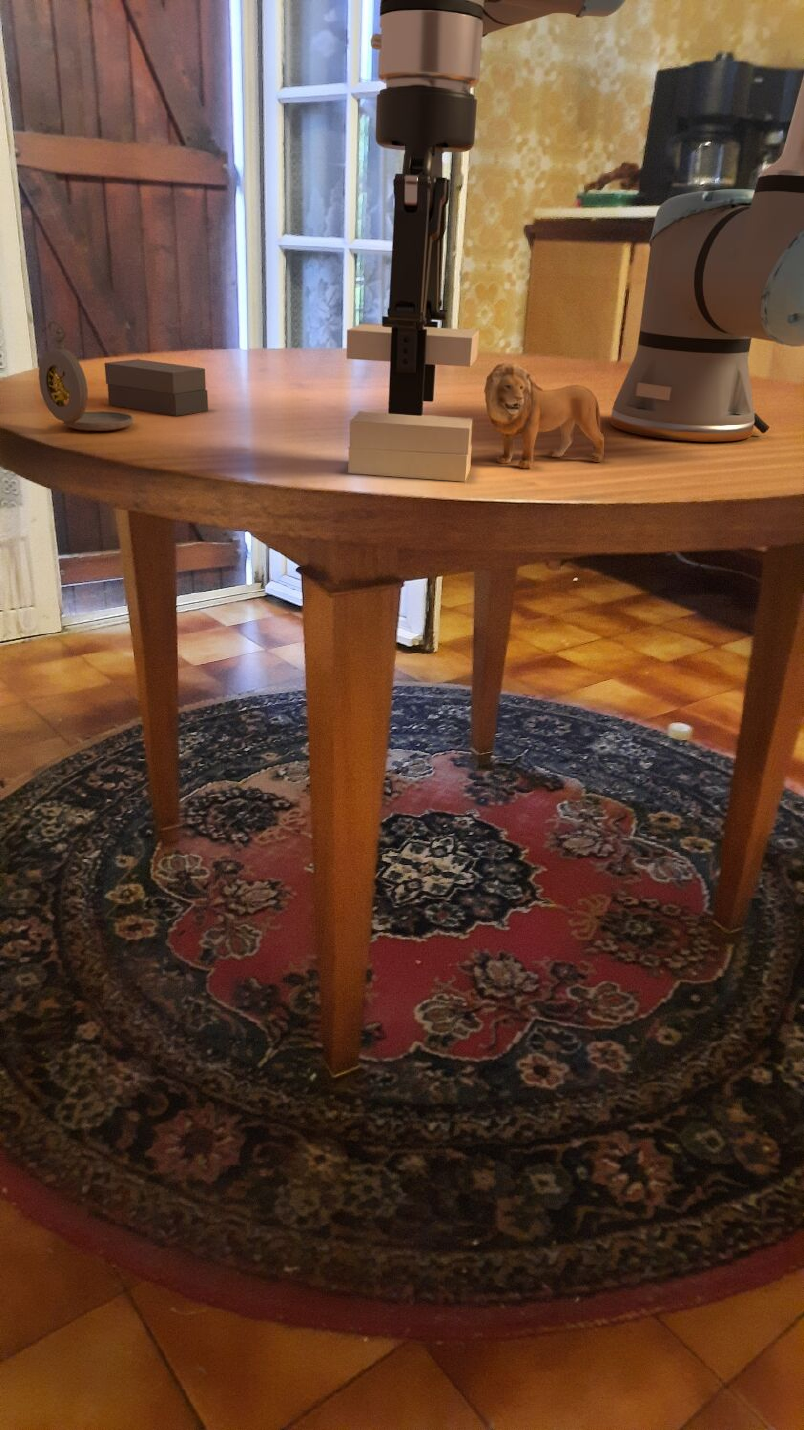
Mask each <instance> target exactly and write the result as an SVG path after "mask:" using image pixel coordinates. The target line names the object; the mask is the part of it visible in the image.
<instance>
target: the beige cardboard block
mask: <svg viewBox="0 0 804 1430" xmlns="http://www.w3.org/2000/svg"><path fill="white" fill-rule="evenodd" d="M473 423H474V419H473V417H463V416H462V417H461V416H449V415H448V416H447V415H446V416H444V415H431V414H430V415H429V414H423V415H422V416H415V415H401V414H388V412H381V411H380V412H379V411H364V410H363V411H362V410H359V411H357V412H356V414H355V415H354V416H353V417H352V418H351V419H350V420H349V446H348V466H347V467H348V470H347V473H348V474H354V475H369V476H380V477H381V476H382V477H393V478H395V477H396V478H410V479H423V480H436V481H452V482H461V483H462V482H464V483H465V482H466V481H467V478H468V476H469V474H470V472H471V464H472V450H473V444H472V436H473Z"/></svg>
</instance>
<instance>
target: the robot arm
mask: <svg viewBox="0 0 804 1430" xmlns="http://www.w3.org/2000/svg"><path fill="white" fill-rule="evenodd" d="M626 1H627V0H380V6H379V17H380V18H379V20H380V21H379V27H380V28H381V29H380V30H381V31H380V33H374V34H372V36H371V38H370V47H371V48H372V49H373V50H376V51H377V50H378V51H379V53H378V68H377V69H378V70H377V72H378V73H377V77H378V79H379V80H380V81H381V82H382V83H383V84H385V88H382V89H380V90H379V93H378V94H376V105H375V106H376V107H375V109H376V111H375V114H376V115H375V142H376V144H377V145H378V146H380V147H381V148H384V149H389V150H397V151H404V154H403V162H402V170H401V173H395V174H394V178H393V181H392V185H393V191H392V192H393V196H394V198H393V199H394V201H393V204H394V205H393V226H392V227H393V228H392V242H391V243H392V244H391V262H390V263H391V264H390V279H389V280H390V281H389V297H388V298H389V299H388V307H387V313H386V314H387V315H385V316H383V315H382V316H381V324H382V326H383V327H392V331H391V357H390V362H389V381H388V382H389V383H388V387H389V388H388V410H387V413H388V414H401V415H415V416H422V415H424V414H423V413H424V402H428V403H433V402H434V397H435V381H436V379H435V378H436V365H434V364H425V359H426V340H427V329H424V327H436V328H439V321H445V322H446V321H447V315H448V310H447V309H442V305H443V300H442V283H443V262H444V261H443V260H444V239H445V233H446V230H447V205H448V204H449V203H448V202H449V201H450V196H451V179H449V178H447V177H443V154H444V153H466V152H469V151H471V149H473V147H474V146H475V139H476V138H475V137H476V121H477V106H478V105H477V104H478V99H476V98H475V97H476V96H475V94H473V93H471V89H472V88H474V87H476V86H477V85H478V84H479V83H480V74H481V73H480V72H481V57H482V44H483V38H484V37H486V36H487V35H488V34H492V33H494V32H497V31H500V30H503V29H506V28H508V27H512V26H515V25H520V24H524V23H528V22H530V21H534V20H536V19H540V18H543V17H546V16H550V15H553V14H569V15H572V16H575V18H579V19H581V18H583V17H599V18H600V17H601V18H604V17H608V16H611V15H613V14H614V13H616V12H617V11H618V10H619V9H620V8H621V7H622V6H623V5H624V4H625V2H626ZM784 143H785V144H784V146H783V150H782V154H781V156H780V157H779V158H778V159H777V160H776V161H774V162H773V163H772V164H770V165H769V166H767V168H765V169H764V170H762V171H761V172H760V173H759V174H758V177H757V181H756V184H755V189H747V188H746V189H745V188H731V189H729V188H728V189H727V188H725V189H715V190H701V191H694V192H688V193H683V194H682V193H681V194H678V195H675V196H673V197H669V198H668V199H666V200H665V201H664V202H663V203H662V204H661V205H660V206H659V207H658V209H657V211H656V214H655V218H654V222H653V228H652V231H651V236H650V238H649V243H648V246H649V254H648V263H647V271H646V277H645V278H646V279H645V287H644V294H643V301H642V309H641V318H640V324H639V333H638V340H637V347H636V348H637V349H636V351H635V356H634V357H633V360H632V362H631V364H630V366H629V369H628V371H627V374H626V376H625V378H624V380H623V382H622V384H621V387H620V389H619V390H618V393H617V395H616V398H615V401H614V403H613V406H612V408H611V417H610V425H612V427H614V428H616V429H618V430H621V431H623V432H627V433H631V434H635V435H640V436H645V437H651V438H658V439H666V440H676V441H685V442H686V441H687V442H734V441H741V440H746V439H749V438H750V437H752V435H753V432H754V427H755V428H756V429H757V430H758V431H760V432H761V434H763V435H764V434H765V433H766V432H767V431H768V430H769V429H770V426H769V425H768V424H767V423H766V422H765V421H764V420H763V419H762V418H761V417H760V416H759V414H758V413H757V412H755V407H754V398H753V391H752V383H751V376H750V368H749V355H750V349H751V344H752V339H757V340H762V341H763V340H764V341H768V342H774V343H776V344H780V345H785V346H789V347H804V75H803V77H802V81H801V84H800V88H799V92H798V95H797V98H796V103H795V106H794V109H793V114H792V117H791V121H790V125H789V128H788V131H787V135H786V139H785V142H784Z"/></svg>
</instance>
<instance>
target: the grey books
mask: <svg viewBox="0 0 804 1430" xmlns="http://www.w3.org/2000/svg"><path fill="white" fill-rule="evenodd" d="M104 375H105V384H106V385H107V395H108V397H107V398H108V405H109V406H114V407H119V408H126V409H132V410H138V411H144V412H149V413H154V414H155V413H156V414H162V415H167V416H168V415H169V416H173V417H180V416H185V415H191V414H198V413H202V412H208V411H209V400H208V399H209V397H208V389H207V384H206V383H207V381H206V368H204V367H196V366H189V365H183V364H175V363H168V362H160V361H154V360H153V361H152V360H146V359H139V358H136V359H127V360H117V361H109V362H104Z"/></svg>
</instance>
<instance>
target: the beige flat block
mask: <svg viewBox="0 0 804 1430" xmlns="http://www.w3.org/2000/svg"><path fill="white" fill-rule="evenodd" d="M424 329H427V340H426V359H425V364H434V365H435V366H448V367H449V366H452V367H467V368H470V367H472V365H473V364H474V362H475V361H476V359H477V358H478V352H479V351H478V350H479V341H480V340H479V339H480V330H479V329H469V328H468V329H465V328H449V327H438V328H436V327H424ZM391 331H392V327H383V326H382V323H372V322H371V323H369V322H362V323H360V324H358V325H356V326H353V327H350V328H349V329H347V330H346V359H347V360H359V361H360V360H361V361H374V362H387V363H388V362H389V363H390V357H391Z"/></svg>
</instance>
